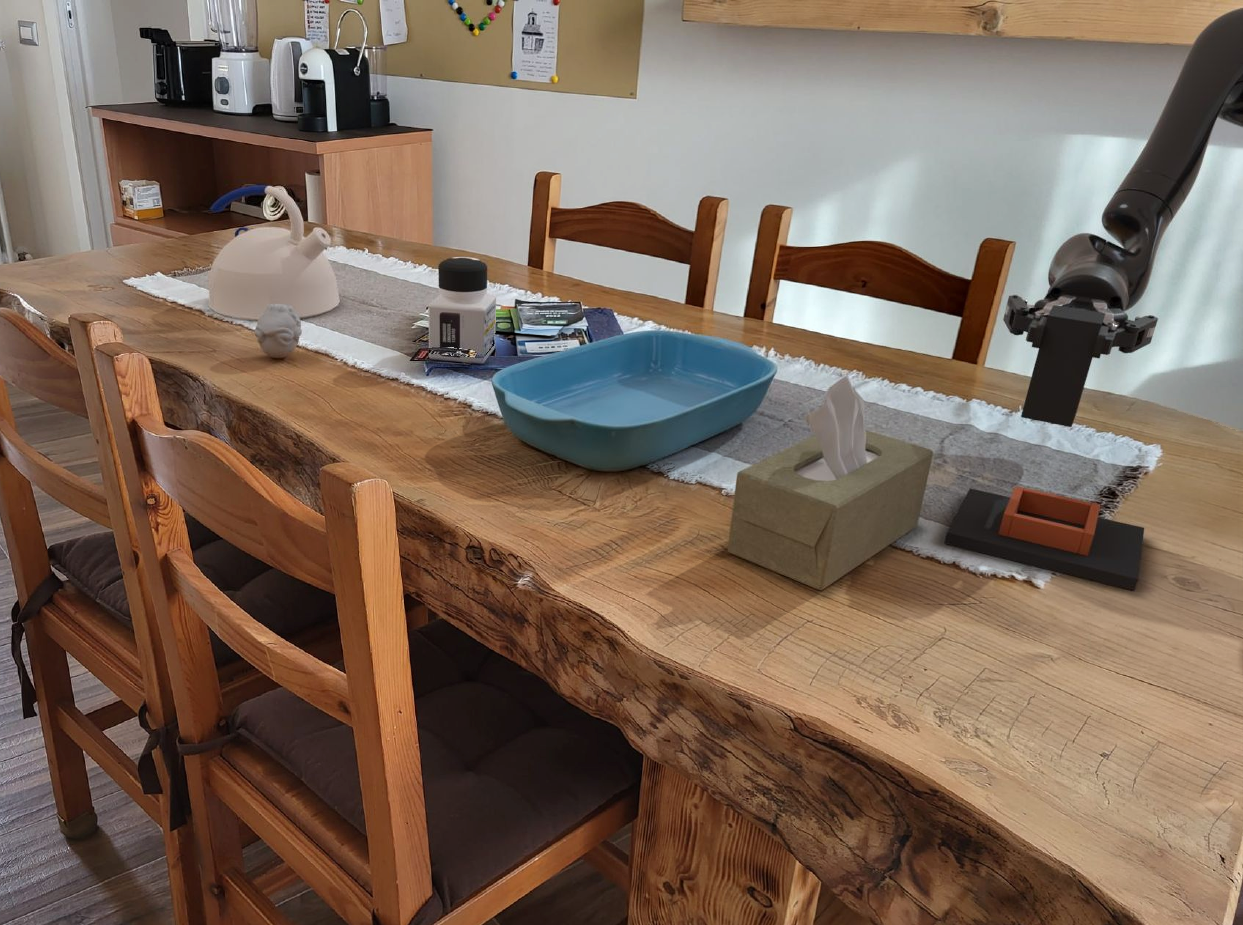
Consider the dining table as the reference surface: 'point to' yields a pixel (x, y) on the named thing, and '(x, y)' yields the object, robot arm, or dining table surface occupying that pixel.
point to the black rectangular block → (1062, 365)
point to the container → (462, 310)
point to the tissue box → (828, 496)
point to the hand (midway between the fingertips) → (1067, 342)
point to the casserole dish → (632, 396)
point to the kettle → (272, 266)
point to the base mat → (1049, 535)
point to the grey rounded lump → (278, 330)
